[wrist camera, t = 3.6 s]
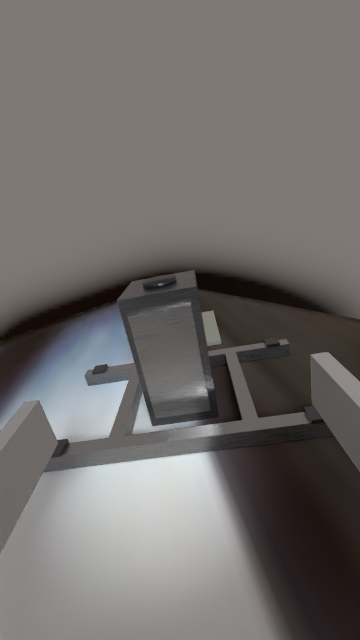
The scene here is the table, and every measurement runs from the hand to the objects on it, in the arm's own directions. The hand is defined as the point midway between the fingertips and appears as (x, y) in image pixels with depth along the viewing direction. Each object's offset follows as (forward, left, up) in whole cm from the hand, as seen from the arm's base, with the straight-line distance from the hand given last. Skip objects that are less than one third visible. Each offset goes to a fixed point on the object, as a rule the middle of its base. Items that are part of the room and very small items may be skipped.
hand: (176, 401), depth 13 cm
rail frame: (-1, +8, -6) cm, 10 cm away
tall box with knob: (-1, +8, -6) cm, 10 cm away
